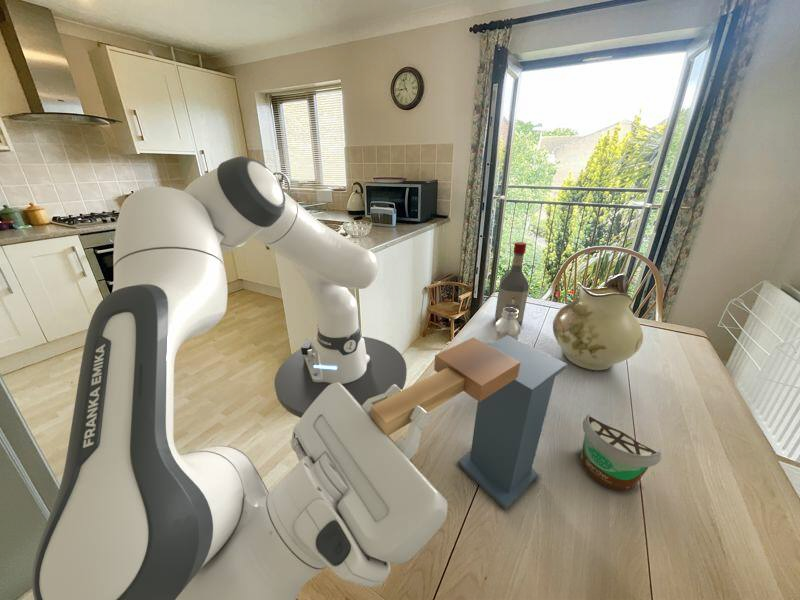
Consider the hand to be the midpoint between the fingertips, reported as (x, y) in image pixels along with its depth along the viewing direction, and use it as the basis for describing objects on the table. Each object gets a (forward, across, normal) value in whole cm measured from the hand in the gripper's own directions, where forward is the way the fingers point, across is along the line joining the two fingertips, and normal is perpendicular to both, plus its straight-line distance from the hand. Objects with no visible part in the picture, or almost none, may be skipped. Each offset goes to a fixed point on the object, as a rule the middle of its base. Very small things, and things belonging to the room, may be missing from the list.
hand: (412, 399), depth 36 cm
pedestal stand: (+4, 0, -37) cm, 37 cm away
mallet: (+4, 0, -4) cm, 5 cm away
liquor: (+51, -35, -63) cm, 89 cm away
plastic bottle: (+27, -18, -50) cm, 59 cm away
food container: (+18, +13, -44) cm, 49 cm away
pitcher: (+51, -7, -63) cm, 82 cm away
